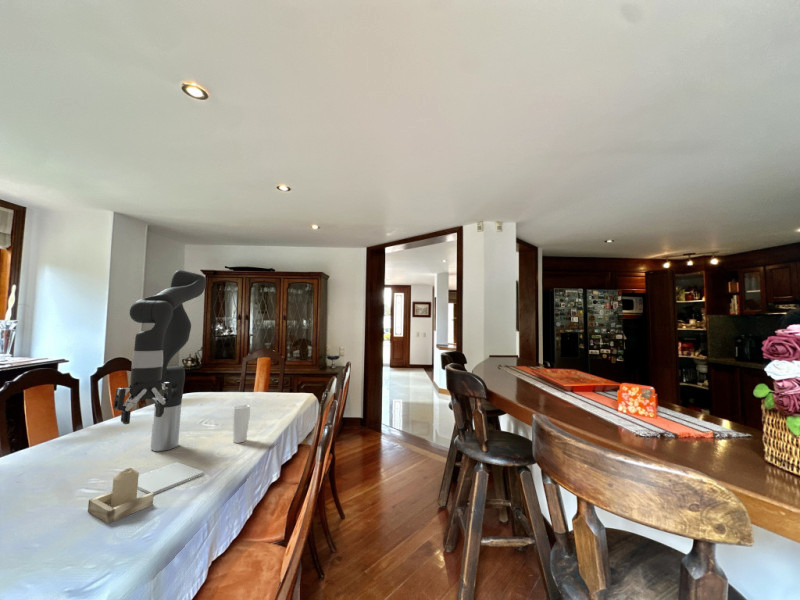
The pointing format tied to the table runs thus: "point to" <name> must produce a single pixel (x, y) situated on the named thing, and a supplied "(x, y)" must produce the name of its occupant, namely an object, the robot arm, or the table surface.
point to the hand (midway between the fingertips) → (142, 420)
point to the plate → (166, 477)
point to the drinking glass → (240, 423)
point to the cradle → (110, 514)
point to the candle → (124, 487)
